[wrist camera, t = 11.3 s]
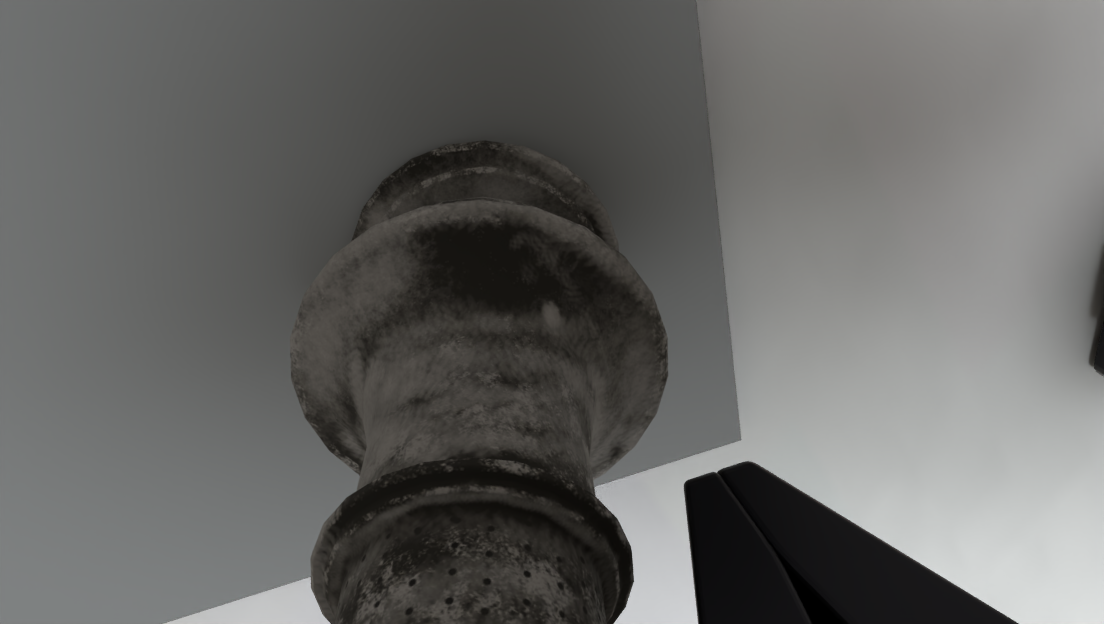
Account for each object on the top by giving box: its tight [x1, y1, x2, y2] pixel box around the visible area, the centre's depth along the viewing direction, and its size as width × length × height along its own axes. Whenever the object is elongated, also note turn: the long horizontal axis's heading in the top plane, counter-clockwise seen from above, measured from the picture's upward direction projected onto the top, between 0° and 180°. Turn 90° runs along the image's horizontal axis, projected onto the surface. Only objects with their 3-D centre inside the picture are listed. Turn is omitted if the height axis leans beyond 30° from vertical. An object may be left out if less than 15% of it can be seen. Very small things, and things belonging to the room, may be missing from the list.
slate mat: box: [0, 0, 741, 624], centre depth 14 cm, size 22×16×1 cm
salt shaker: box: [290, 140, 668, 624], centre depth 9 cm, size 6×6×12 cm
